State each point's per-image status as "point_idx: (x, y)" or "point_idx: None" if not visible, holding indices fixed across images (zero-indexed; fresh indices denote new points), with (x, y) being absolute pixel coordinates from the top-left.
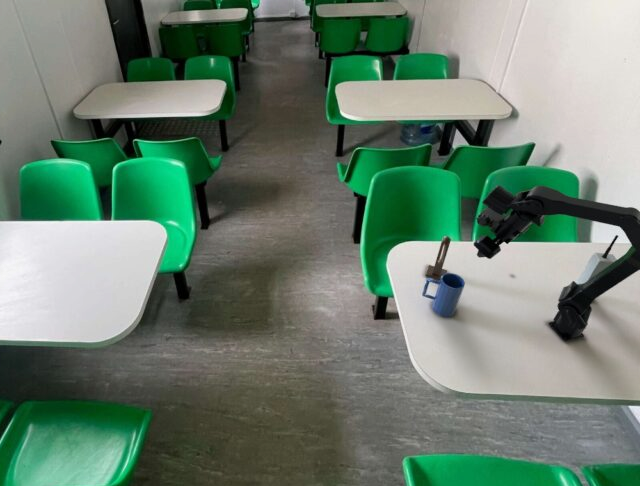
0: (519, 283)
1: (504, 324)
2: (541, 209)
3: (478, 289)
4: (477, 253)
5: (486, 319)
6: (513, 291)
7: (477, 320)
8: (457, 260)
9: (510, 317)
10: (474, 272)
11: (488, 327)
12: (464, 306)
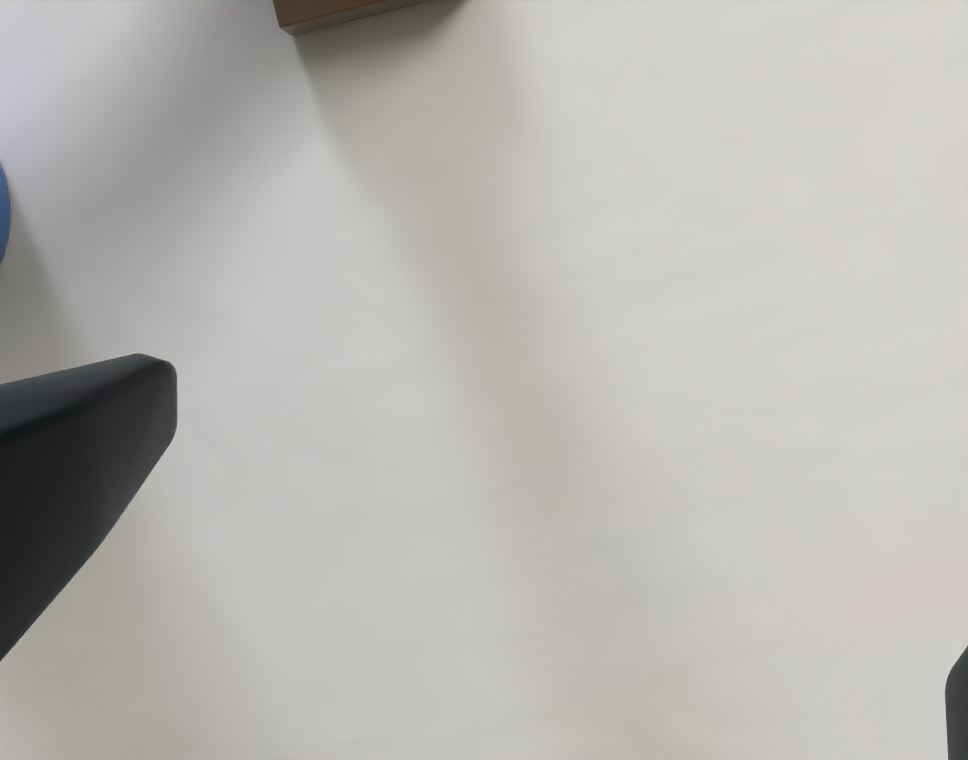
0: (814, 717)
1: (141, 725)
2: None
3: (436, 403)
4: (29, 385)
5: (83, 586)
6: (644, 696)
7: None
8: (805, 11)
9: (263, 748)
10: (698, 275)
11: None
12: None
